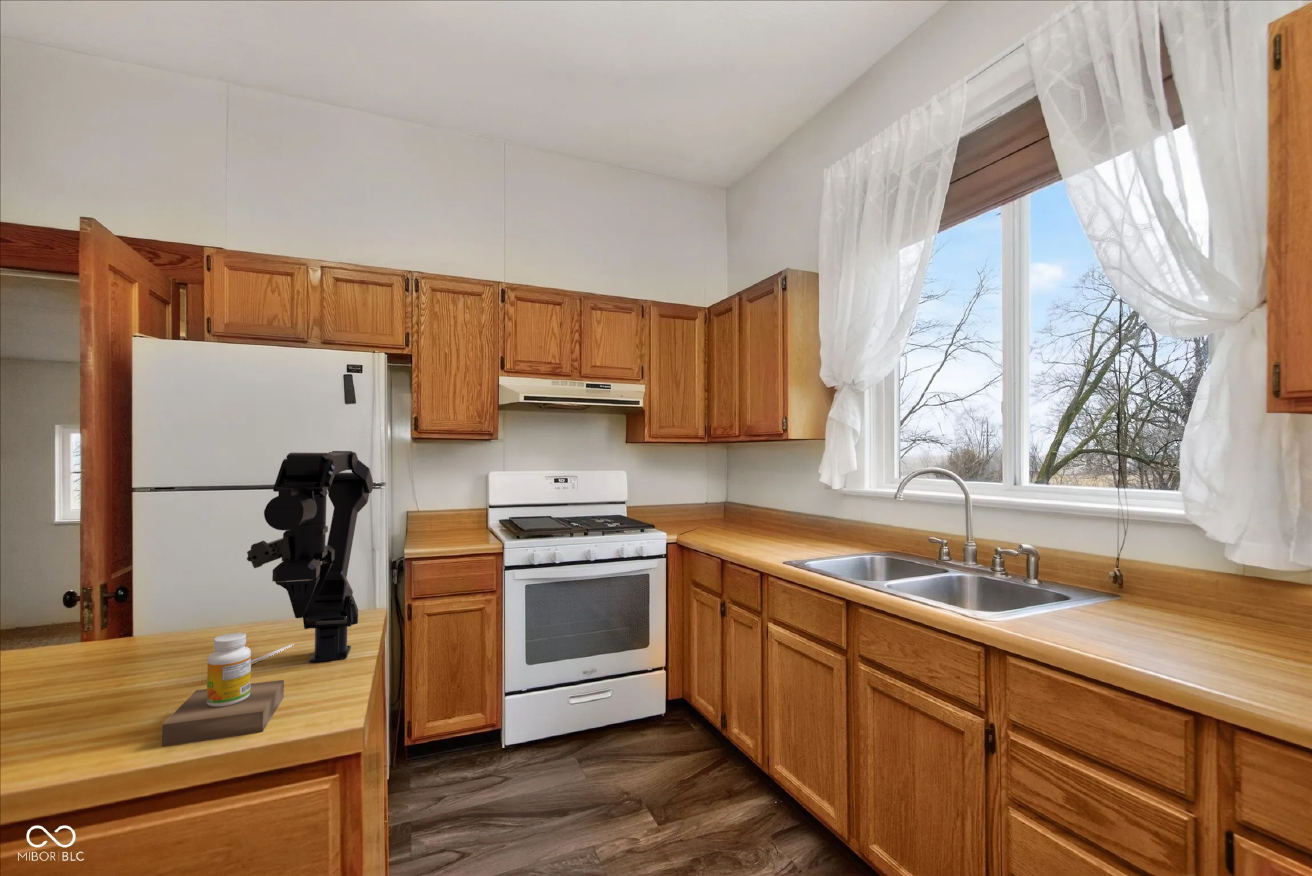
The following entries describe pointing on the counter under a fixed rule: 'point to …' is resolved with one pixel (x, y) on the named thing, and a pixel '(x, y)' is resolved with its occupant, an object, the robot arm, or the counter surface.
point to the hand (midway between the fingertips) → (305, 610)
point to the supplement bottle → (229, 671)
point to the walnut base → (222, 715)
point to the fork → (269, 654)
